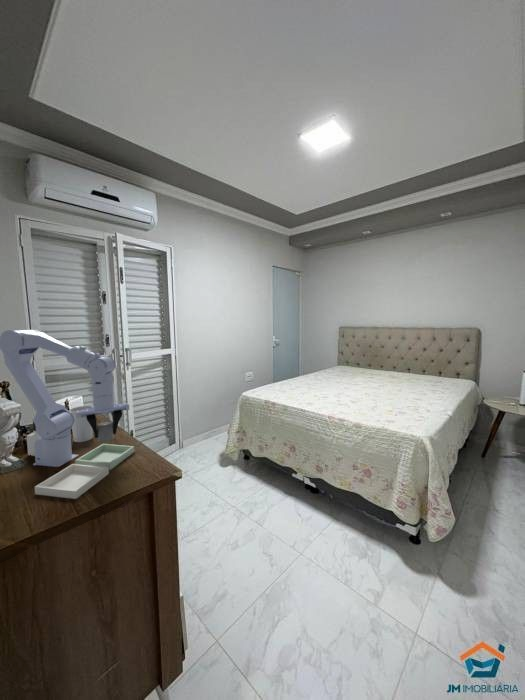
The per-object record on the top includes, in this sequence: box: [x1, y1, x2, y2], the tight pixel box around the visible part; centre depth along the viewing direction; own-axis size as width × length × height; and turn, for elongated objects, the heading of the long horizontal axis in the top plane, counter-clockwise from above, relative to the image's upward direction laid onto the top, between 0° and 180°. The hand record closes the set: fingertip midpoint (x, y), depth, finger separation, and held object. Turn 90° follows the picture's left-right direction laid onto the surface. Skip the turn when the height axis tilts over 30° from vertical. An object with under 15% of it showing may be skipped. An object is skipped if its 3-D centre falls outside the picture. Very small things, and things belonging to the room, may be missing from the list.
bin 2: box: [74, 443, 135, 471], centre depth 91 cm, size 12×12×3 cm
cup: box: [68, 405, 94, 443], centre depth 107 cm, size 8×8×12 cm
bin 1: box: [34, 463, 110, 500], centre depth 77 cm, size 12×12×3 cm
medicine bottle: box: [26, 421, 39, 457], centre depth 96 cm, size 7×7×12 cm
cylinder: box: [96, 421, 115, 443], centre depth 90 cm, size 5×5×5 cm
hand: (105, 435), depth 90 cm, fingers closed on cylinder, 5 cm apart
